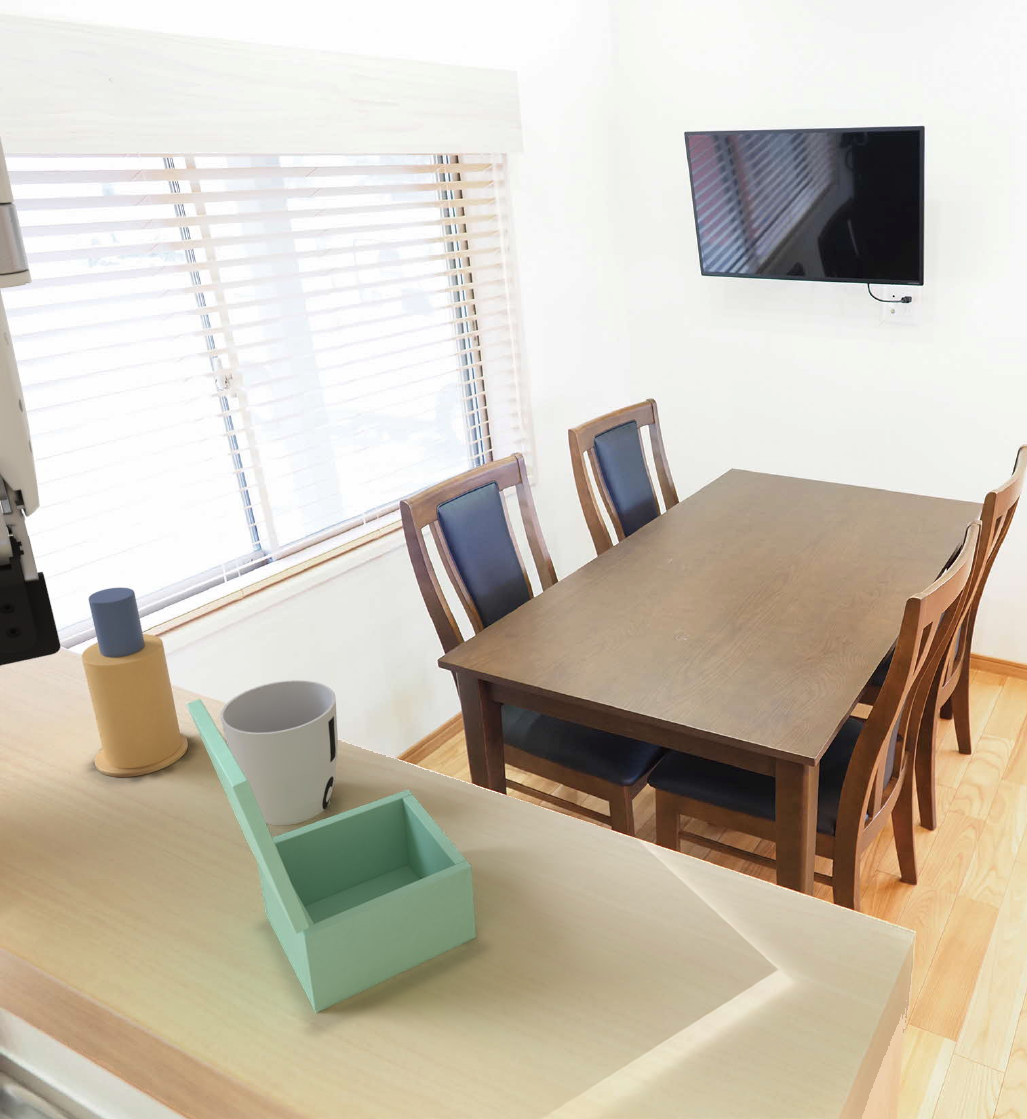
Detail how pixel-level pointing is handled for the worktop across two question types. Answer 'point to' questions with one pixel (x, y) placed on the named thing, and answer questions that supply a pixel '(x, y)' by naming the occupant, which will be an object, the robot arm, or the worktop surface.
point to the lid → (248, 815)
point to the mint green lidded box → (370, 897)
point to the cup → (285, 747)
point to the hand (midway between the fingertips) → (12, 632)
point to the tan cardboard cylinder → (129, 684)
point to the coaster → (129, 772)
